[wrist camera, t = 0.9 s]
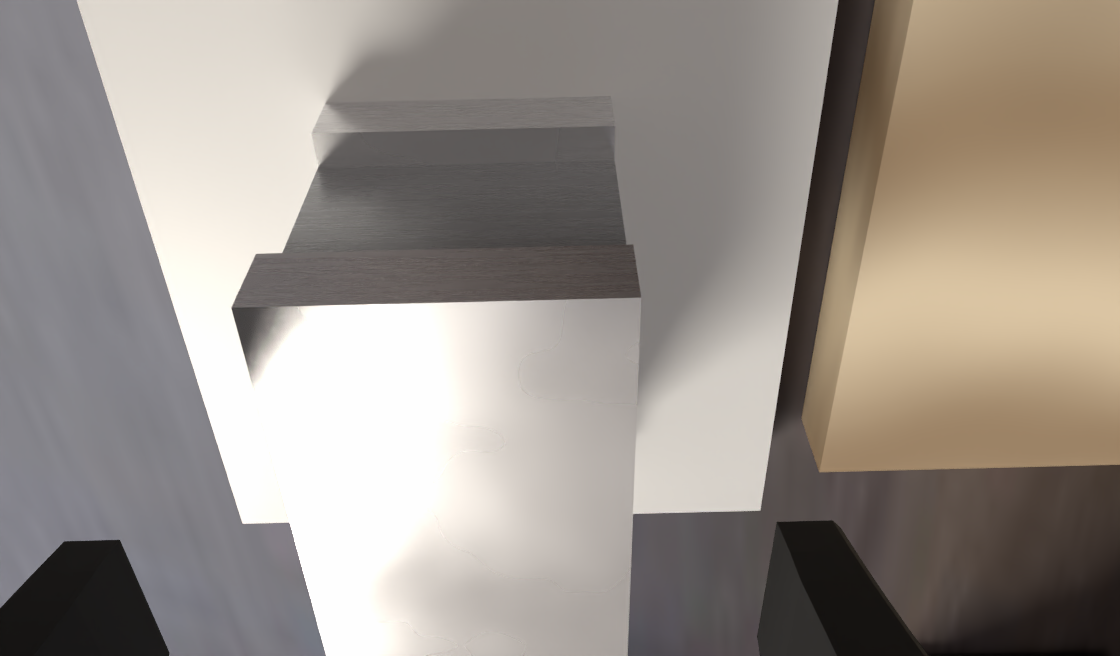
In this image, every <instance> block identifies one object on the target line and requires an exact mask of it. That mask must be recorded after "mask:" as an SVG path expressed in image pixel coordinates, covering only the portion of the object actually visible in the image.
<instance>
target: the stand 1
mask: <svg viewBox="0 0 1120 656" xmlns="http://www.w3.org/2000/svg"><path fill="white" fill-rule="evenodd" d="M77 3H78V6H79V9H80V12H81V15H82V18H83V22H84V25H85V28H86V31H87V34H88V37H89V40H90V44H91V47H92V50H93V53H94V56H95V59H96V63H97V66H98V69H99V72H100V75H101V78H102V81H103V85H104V88H105V91H106V94H107V97H108V100H109V104H110V107H111V110H112V113H113V116H114V119H115V122H116V126H117V129H118V132H119V135H120V138H121V141H122V145H123V148H124V151H125V154H126V157H127V160H128V163H129V167H130V170H131V173H132V176H133V179H134V182H135V185H136V189H137V192H138V195H139V198H140V201H141V204H142V208H143V211H144V214H145V217H146V220H147V223H148V226H149V230H150V233H151V236H152V239H153V242H154V245H155V249H156V252H157V255H158V258H159V261H160V264H161V267H162V271H163V274H164V277H165V280H166V283H167V286H168V290H169V293H170V296H171V299H172V302H173V305H174V308H175V312H176V315H177V318H178V321H179V324H180V327H181V331H182V334H183V337H184V340H185V343H186V346H187V349H188V353H189V356H190V359H191V362H192V365H193V368H194V371H195V375H196V378H197V381H198V384H199V387H200V390H201V394H202V397H203V400H204V403H205V406H206V409H207V412H208V416H209V419H210V422H211V425H212V428H213V431H214V435H215V438H216V441H217V444H218V447H219V450H220V453H221V457H222V460H223V463H224V466H225V469H226V472H227V476H228V479H229V482H230V485H231V488H232V491H233V494H234V498H235V501H236V504H237V507H238V510H239V513H240V517H241V520H242V523H243V524H247V523H286V522H290V521H289V517H288V514H287V510H286V506H285V503H284V499H283V495H282V492H281V488H280V484H279V481H278V477H277V473H276V470H275V466H274V462H273V459H272V455H271V451H270V448H269V444H268V440H267V437H266V433H265V430H264V426H263V422H262V419H261V415H260V411H259V408H258V404H257V400H256V397H255V393H254V389H253V386H252V382H251V378H250V375H249V371H248V367H247V364H246V360H245V356H244V353H243V349H242V346H241V342H240V338H239V335H238V331H237V327H236V324H235V320H234V316H233V313H232V309H231V307H232V305H233V303H234V301H235V299H236V296H237V294H238V292H239V290H240V288H241V285H242V283H243V281H244V279H245V277H246V275H247V272H248V270H249V268H250V266H251V264H252V262H253V259H254V257H255V255H256V254H266V253H282V252H283V250H284V248H285V245H286V243H287V240H288V238H289V236H290V233H291V231H292V228H293V226H294V224H295V221H296V219H297V217H298V214H299V212H300V209H301V207H302V205H303V202H304V200H305V197H306V195H307V193H308V190H309V188H310V185H311V183H312V181H313V178H314V176H315V173H316V171H317V169H318V166H317V161H316V155H315V150H314V145H313V139H312V134H311V133H312V131H313V129H314V127H315V124H316V122H317V120H318V118H319V116H320V114H321V111H322V109H323V107H324V105H325V103H348V102H389V101H430V100H471V99H512V98H553V97H594V96H611V101H612V108H613V114H614V121H615V166H616V173H617V181H618V188H619V195H620V202H621V209H622V216H623V223H624V230H625V237H626V245H630V244H633V246H634V253H635V259H636V266H637V273H638V279H639V286H640V292H641V318H640V344H639V370H638V396H637V422H636V448H635V474H634V499H633V514H641V513H681V512H720V511H760V509H761V502H762V496H763V489H764V483H765V476H766V470H767V463H768V457H769V450H770V444H771V437H772V430H773V424H774V417H775V411H776V404H777V398H778V391H779V385H780V378H781V372H782V365H783V359H784V352H785V346H786V339H787V333H788V326H789V320H790V313H791V307H792V300H793V294H794V287H795V280H796V274H797V267H798V261H799V254H800V248H801V241H802V235H803V228H804V222H805V215H806V209H807V202H808V196H809V189H810V183H811V176H812V170H813V163H814V157H815V150H816V144H817V137H818V131H819V124H820V117H821V111H822V104H823V98H824V91H825V85H826V78H827V72H828V65H829V59H830V52H831V46H832V39H833V33H834V26H835V20H836V13H837V7H838V0H77Z"/></svg>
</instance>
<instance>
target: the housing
mask: <svg viewBox="0 0 1120 656" xmlns="http://www.w3.org/2000/svg"><path fill="white" fill-rule="evenodd" d="M311 134H312V139H313V145H314V150H315V155H316V161H317V166H318V169H317V171H316V173H315V176H314V178H313V181H312V183H311V185H310V188H309V190H308V193H307V195H306V197H305V200H304V202H303V205H302V207H301V209H300V212H299V214H298V217H297V219H296V221H295V224H294V226H293V228H292V231H291V233H290V236H289V238H288V240H287V243H286V245H285V248H284V250H283V252H282V253H266V254H256V255H255V257H254V259H253V262H252V264H251V266H250V268H249V270H248V272H247V275H246V277H245V279H244V281H243V283H242V285H241V288H240V290H239V292H238V294H237V296H236V299H235V301H234V303H233V305H232V307H231V309H232V313H233V316H234V320H235V324H236V327H237V331H238V335H239V338H240V342H241V346H242V349H243V353H244V356H245V360H246V364H247V367H248V371H249V375H250V378H251V382H252V386H253V389H254V393H255V397H256V400H257V404H258V408H259V411H260V415H261V419H262V422H263V426H264V430H265V433H266V437H267V440H268V444H269V448H270V451H271V455H272V459H273V462H274V466H275V470H276V473H277V477H278V481H279V484H280V488H281V492H282V495H283V499H284V503H285V506H286V510H287V514H288V517H289V521H290V524H291V528H292V532H293V535H294V539H295V543H296V546H297V550H298V554H299V557H300V561H301V565H302V568H303V572H304V576H305V579H306V583H307V587H308V590H309V594H310V598H311V601H312V605H313V608H314V612H315V616H316V619H317V623H318V627H319V630H320V634H321V638H322V641H323V645H324V649H325V652H326V656H627V655H628V629H629V603H630V577H631V551H632V525H633V499H634V474H635V448H636V422H637V396H638V370H639V344H640V318H641V292H640V286H639V279H638V273H637V266H636V259H635V253H634V246H633V244H630V245H626V237H625V230H624V223H623V216H622V209H621V202H620V195H619V188H618V181H617V173H616V166H615V121H614V114H613V108H612V101H611V96H594V97H553V98H512V99H471V100H430V101H389V102H348V103H325V105H324V107H323V109H322V111H321V114H320V116H319V118H318V120H317V122H316V124H315V127H314V129H313V131H312V133H311Z"/></svg>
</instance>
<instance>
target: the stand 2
mask: <svg viewBox="0 0 1120 656" xmlns="http://www.w3.org/2000/svg"><path fill="white" fill-rule="evenodd" d="M802 422H803V425H804V428H805V431H806V434H807V437H808V440H809V443H810V446H811V449H812V452H813V455H814V458H815V461H816V464H817V467H818V470H819V472H844V471H884V470H923V469H963V468H1003V467H1042V466H1082V465H1120V0H875V4H874V9H873V15H872V21H871V27H870V32H869V38H868V44H867V49H866V55H865V61H864V66H863V72H862V78H861V83H860V89H859V95H858V100H857V106H856V112H855V117H854V123H853V129H852V134H851V140H850V146H849V152H848V157H847V163H846V169H845V174H844V180H843V186H842V191H841V197H840V203H839V208H838V214H837V220H836V225H835V231H834V237H833V242H832V248H831V254H830V259H829V265H828V271H827V277H826V282H825V288H824V294H823V299H822V305H821V311H820V316H819V322H818V328H817V333H816V339H815V345H814V350H813V356H812V362H811V367H810V373H809V379H808V384H807V390H806V396H805V402H804V407H803V413H802Z"/></svg>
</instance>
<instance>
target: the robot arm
mask: <svg viewBox="0 0 1120 656" xmlns="http://www.w3.org/2000/svg"><path fill="white" fill-rule="evenodd" d="M757 638H758V645H759V652H760V656H928V655H927V653H926V652H925V651H924V649H923V648H922V646H921V645H920V644H919V642H918V641H917V640H916V638H915V637H914V636H913V634H912V633H911V631H910V630H909V629H908V627H907V626H906V624H905V623H904V621H903V620H902V619H901V617H900V616H899V614H898V613H897V612H896V610H895V609H894V607H893V606H892V604H891V603H890V602H889V600H888V599H887V597H886V596H885V594H884V593H883V591H882V590H881V589H880V587H879V586H878V584H877V583H876V581H875V580H874V578H873V577H872V575H871V574H870V572H869V571H868V569H867V568H866V566H865V565H864V563H863V562H862V560H861V559H860V557H859V556H858V554H857V553H856V551H855V550H854V548H853V546H852V545H851V543H850V542H849V540H848V539H847V537H846V536H845V534H844V532H843V531H842V529H841V528H840V527H839V526H838V525H837V524H836V523H835V522H834V521H798V522H777V524H776V530H775V536H774V542H773V548H772V554H771V559H770V565H769V571H768V577H767V583H766V588H765V594H764V600H763V606H762V612H761V618H760V623H759V629H758V635H757ZM0 656H169V651H168V649H167V646H166V644H165V642H164V639H163V637H162V635H161V633H160V630H159V628H158V626H157V624H156V621H155V619H154V617H153V614H152V612H151V610H150V608H149V605H148V603H147V601H146V599H145V596H144V594H143V592H142V589H141V587H140V585H139V583H138V580H137V578H136V576H135V574H134V571H133V569H132V567H131V564H130V562H129V560H128V558H127V555H126V553H125V551H124V549H123V546H122V544H121V542H120V540H102V541H65V542H63V543H62V544H61V545H60V547H59V548H58V549H57V550H56V551H55V552H54V553H53V554H52V555H51V556H50V557H49V558H48V559H47V560H46V561H45V562H44V563H43V564H42V565H41V566H40V567H39V568H38V569H37V570H36V571H35V572H34V573H33V574H32V575H31V576H30V577H29V578H28V580H27V581H26V582H25V583H24V584H23V585H22V586H21V587H20V588H19V589H18V590H17V591H16V592H15V593H14V594H13V595H12V596H11V597H10V598H9V600H8V601H7V602H6V603H5V604H4V605H3V606H2V607H1V608H0Z"/></svg>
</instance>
